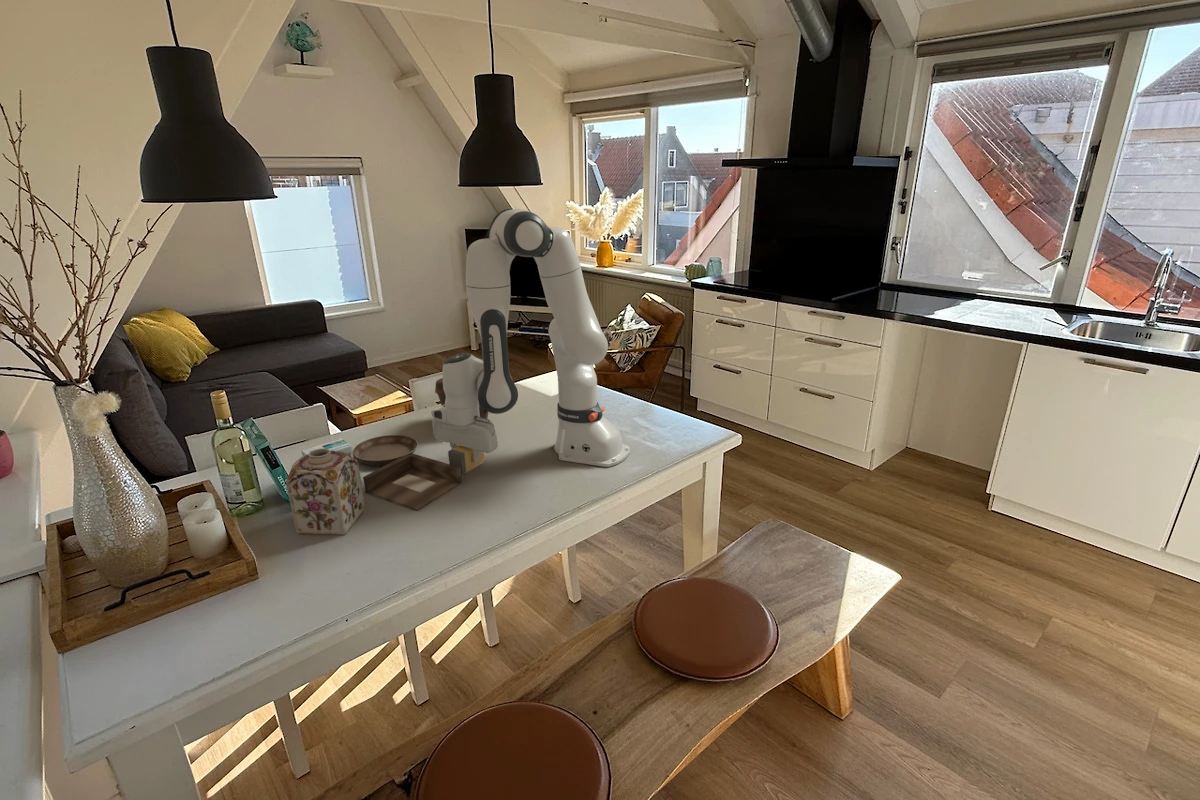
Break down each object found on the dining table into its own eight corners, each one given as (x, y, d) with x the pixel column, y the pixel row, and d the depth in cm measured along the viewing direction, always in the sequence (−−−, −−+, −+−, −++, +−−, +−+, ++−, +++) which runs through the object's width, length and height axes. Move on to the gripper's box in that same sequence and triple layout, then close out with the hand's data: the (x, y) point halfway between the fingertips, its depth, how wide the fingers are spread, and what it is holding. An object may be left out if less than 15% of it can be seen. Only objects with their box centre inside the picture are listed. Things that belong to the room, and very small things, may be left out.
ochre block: (484, 461, 170) (482, 442, 167) (462, 475, 162) (460, 454, 160) (471, 458, 172) (470, 439, 169) (449, 471, 164) (448, 451, 162)
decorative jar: (294, 534, 136) (279, 463, 129) (319, 507, 147) (306, 440, 140) (346, 536, 135) (333, 464, 129) (367, 508, 146) (357, 441, 140)
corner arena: (461, 482, 158) (460, 467, 156) (417, 510, 145) (415, 494, 143) (412, 467, 166) (410, 452, 165) (365, 492, 153) (362, 477, 152)
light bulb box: (348, 473, 163) (341, 437, 159) (358, 481, 159) (352, 444, 155) (307, 486, 156) (300, 449, 152) (317, 496, 152) (310, 457, 148)
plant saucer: (386, 439, 185) (385, 430, 183) (431, 450, 177) (430, 440, 176) (340, 462, 170) (338, 452, 169) (387, 475, 162) (386, 465, 161)
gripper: (500, 416, 159) (504, 463, 164) (442, 402, 168) (447, 447, 173) (485, 424, 154) (489, 472, 159) (426, 410, 163) (431, 456, 168)
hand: (466, 459), depth 166 cm, fingers closed on ochre block, 5 cm apart
